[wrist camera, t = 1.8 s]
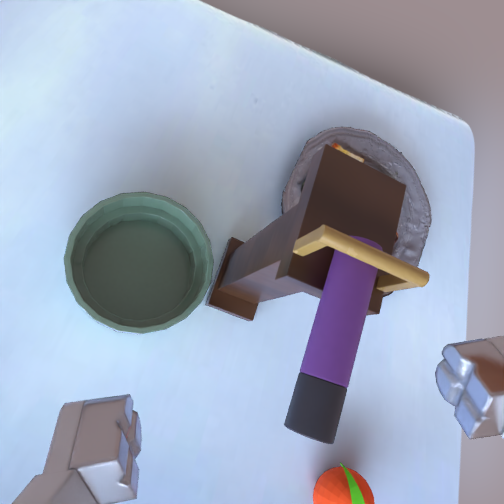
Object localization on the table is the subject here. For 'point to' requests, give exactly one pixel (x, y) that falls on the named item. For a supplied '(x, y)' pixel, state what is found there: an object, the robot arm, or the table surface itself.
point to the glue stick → (332, 347)
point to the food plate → (384, 160)
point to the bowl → (138, 262)
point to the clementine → (342, 488)
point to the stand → (319, 239)
